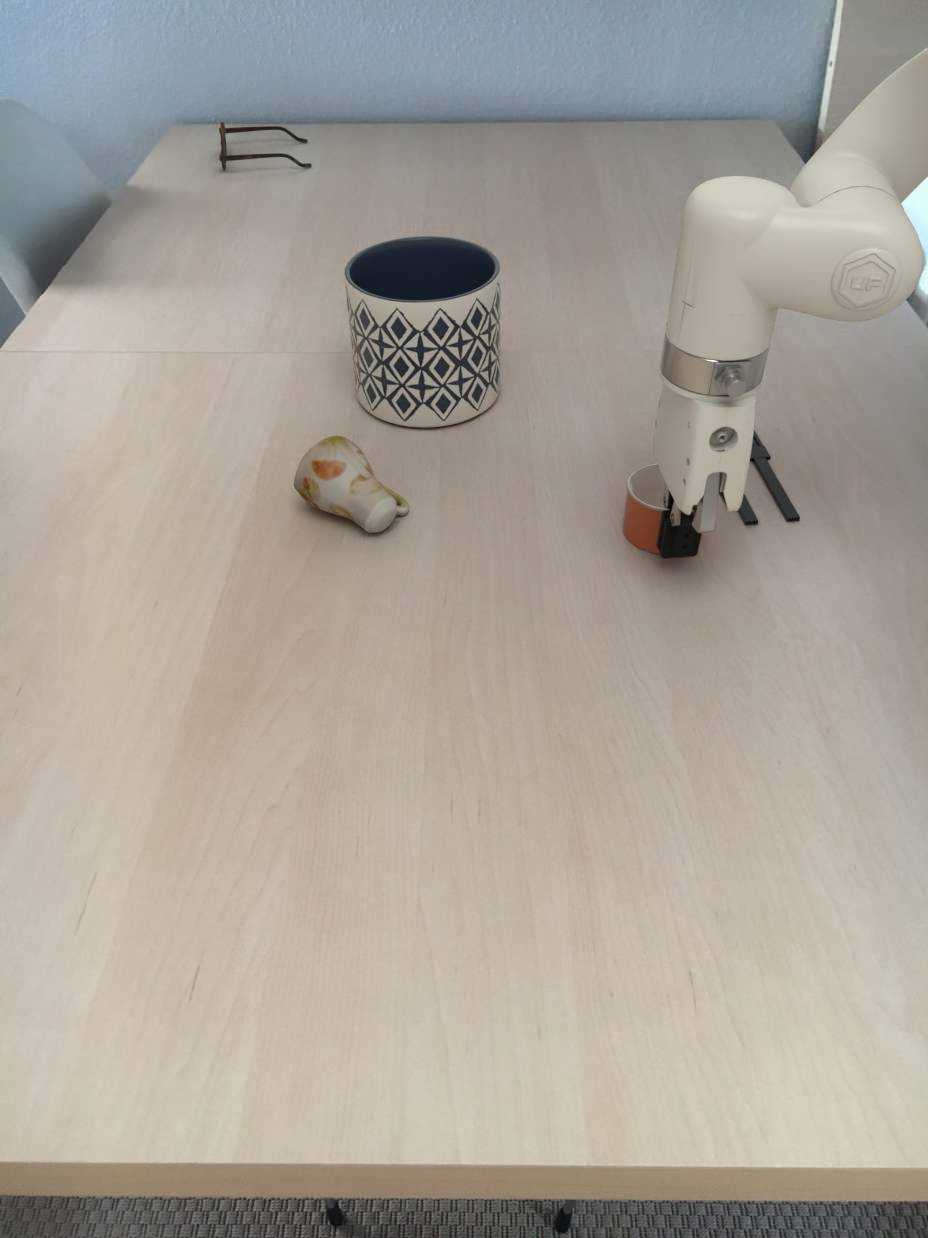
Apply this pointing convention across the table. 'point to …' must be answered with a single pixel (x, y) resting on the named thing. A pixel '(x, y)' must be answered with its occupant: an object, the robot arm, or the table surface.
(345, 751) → the table surface
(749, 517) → the spoon
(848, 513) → the table surface
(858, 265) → the robot arm
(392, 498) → the mug
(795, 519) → the fork
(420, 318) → the planter
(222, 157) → the eyeglasses
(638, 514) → the orange cup
